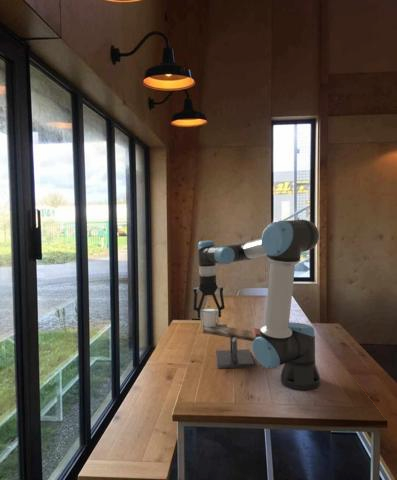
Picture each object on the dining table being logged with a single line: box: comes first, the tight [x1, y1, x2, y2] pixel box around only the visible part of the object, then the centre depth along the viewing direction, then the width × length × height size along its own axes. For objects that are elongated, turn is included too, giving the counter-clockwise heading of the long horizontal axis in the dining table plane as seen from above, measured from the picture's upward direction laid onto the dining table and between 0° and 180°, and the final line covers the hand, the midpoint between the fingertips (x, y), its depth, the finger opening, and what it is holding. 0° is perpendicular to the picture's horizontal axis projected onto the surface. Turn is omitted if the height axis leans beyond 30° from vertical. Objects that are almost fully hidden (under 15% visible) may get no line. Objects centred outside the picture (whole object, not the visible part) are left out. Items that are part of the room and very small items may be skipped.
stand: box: [215, 326, 255, 369], centre depth 180 cm, size 16×18×13 cm
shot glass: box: [201, 308, 218, 327], centre depth 180 cm, size 7×7×7 cm
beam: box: [202, 322, 260, 342], centre depth 180 cm, size 28×11×4 cm, turn 90°
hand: (209, 324), depth 180 cm, fingers closed on shot glass, 7 cm apart
